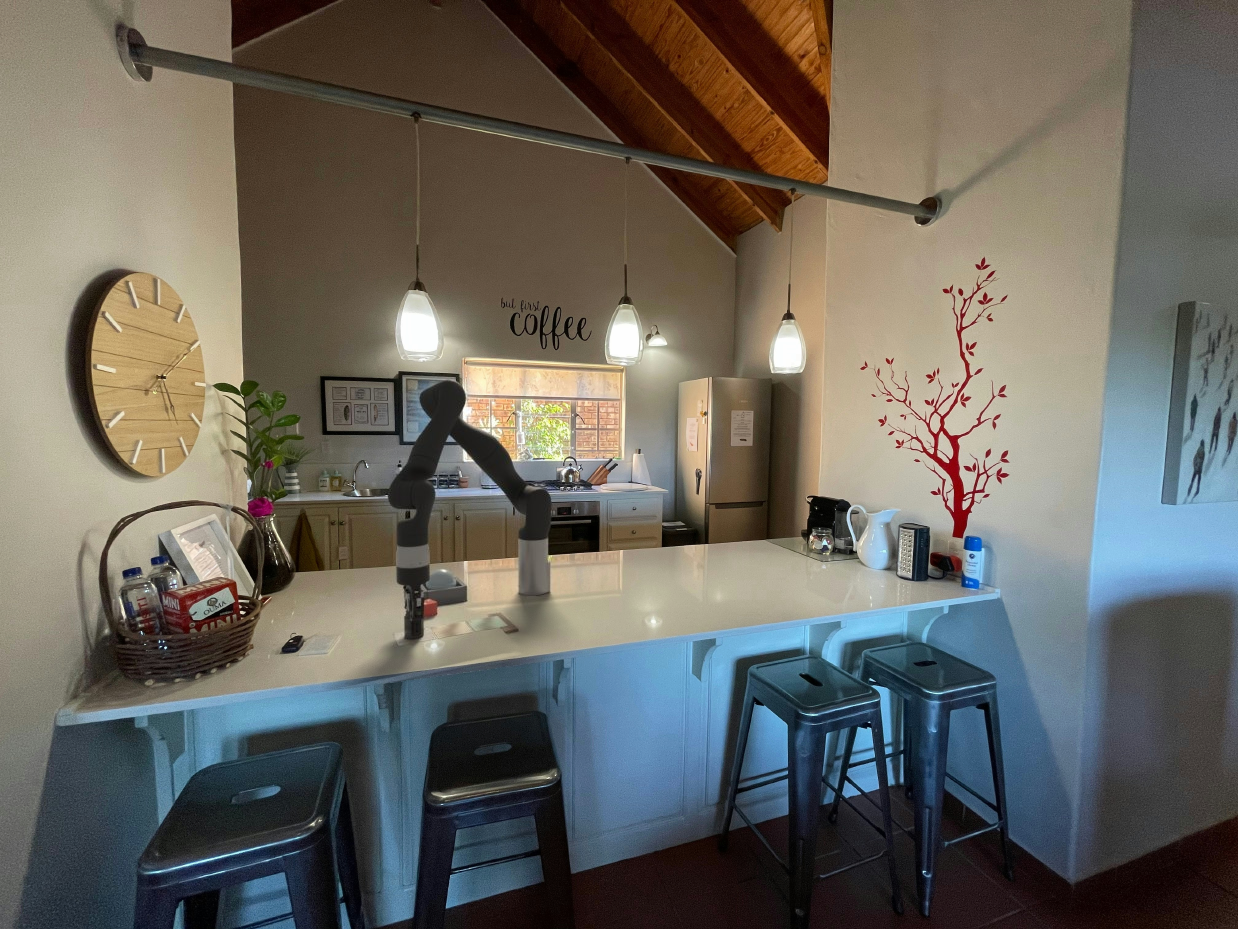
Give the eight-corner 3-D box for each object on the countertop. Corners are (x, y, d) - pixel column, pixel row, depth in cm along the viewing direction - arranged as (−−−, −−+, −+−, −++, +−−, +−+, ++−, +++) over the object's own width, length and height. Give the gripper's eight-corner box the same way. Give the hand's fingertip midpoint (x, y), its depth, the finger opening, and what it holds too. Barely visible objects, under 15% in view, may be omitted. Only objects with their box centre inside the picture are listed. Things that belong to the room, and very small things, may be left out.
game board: (500, 614, 151) (500, 611, 151) (518, 631, 139) (518, 627, 139) (383, 634, 136) (383, 631, 135) (392, 655, 124) (392, 651, 123)
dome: (452, 588, 170) (452, 564, 169) (459, 596, 162) (459, 570, 162) (423, 592, 165) (423, 567, 165) (429, 600, 158) (429, 574, 158)
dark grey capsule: (421, 631, 136) (421, 604, 135) (425, 637, 132) (425, 609, 131) (403, 634, 133) (402, 606, 133) (406, 641, 129) (405, 612, 129)
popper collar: (456, 590, 173) (456, 576, 172) (467, 601, 162) (467, 586, 162) (415, 596, 166) (415, 581, 166) (424, 607, 156) (423, 592, 155)
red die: (430, 613, 151) (430, 598, 151) (437, 616, 149) (437, 601, 148) (416, 616, 148) (416, 601, 148) (423, 620, 146) (423, 605, 145)
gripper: (435, 567, 127) (436, 639, 128) (423, 554, 139) (424, 620, 140) (401, 571, 123) (402, 645, 124) (391, 558, 135) (393, 625, 137)
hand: (414, 631), depth 132 cm, fingers closed on dark grey capsule, 4 cm apart
